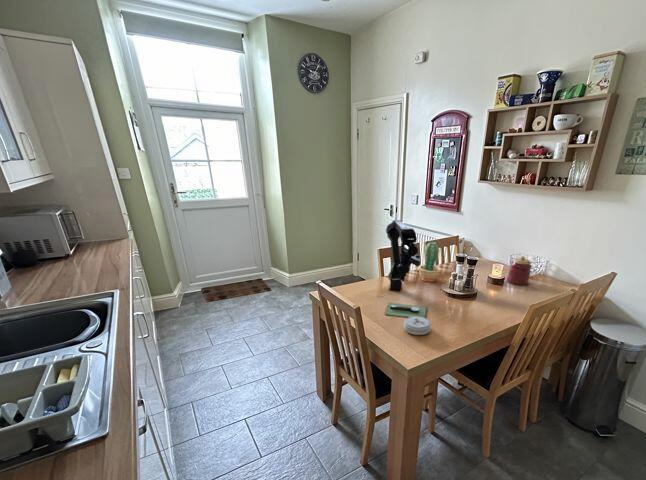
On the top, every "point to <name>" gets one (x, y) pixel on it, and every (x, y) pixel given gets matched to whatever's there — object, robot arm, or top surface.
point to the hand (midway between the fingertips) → (404, 278)
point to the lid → (417, 325)
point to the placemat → (405, 313)
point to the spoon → (406, 309)
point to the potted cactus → (430, 263)
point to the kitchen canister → (519, 271)
